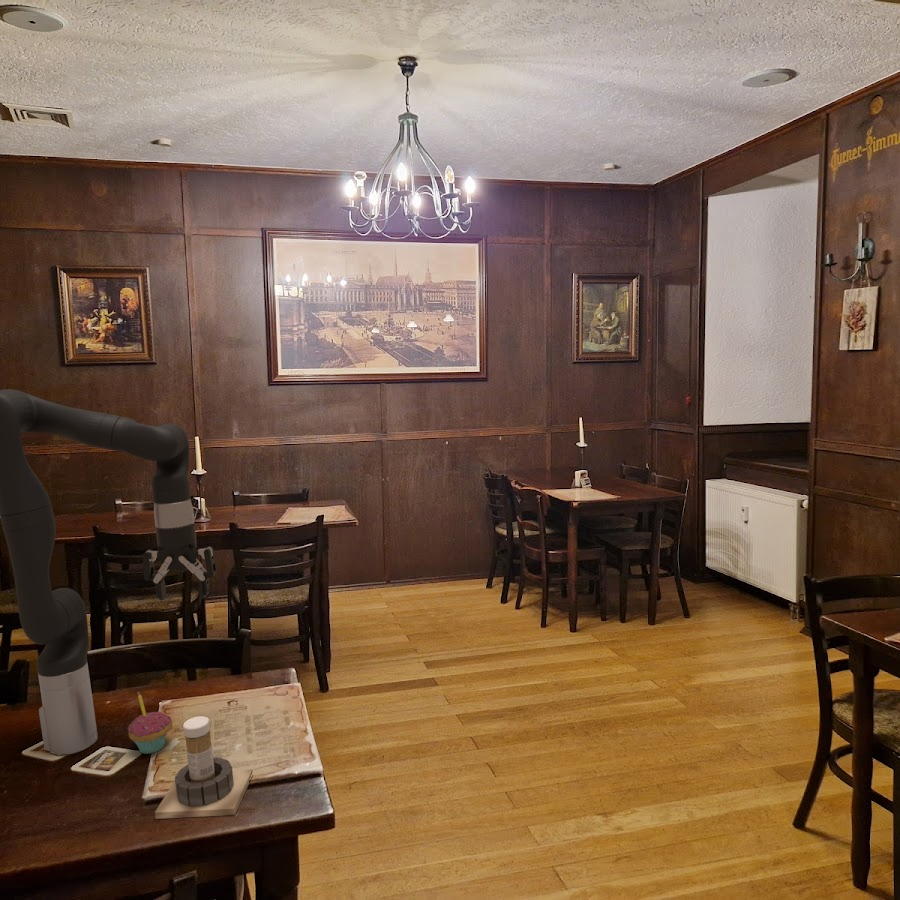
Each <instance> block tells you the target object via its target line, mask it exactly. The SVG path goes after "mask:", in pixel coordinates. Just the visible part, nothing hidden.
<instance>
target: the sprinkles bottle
mask: <svg viewBox="0 0 900 900" xmlns="http://www.w3.org/2000/svg"><path fill="white" fill-rule="evenodd" d="M182 728H183V735H184V737H185V745H186V755H187V763H188V764H187V765H189V774H190V778H191V783H203V782H206V781H209V780H212V779H214V778H215V771H214V759H213V758H214V753H213V746H212V739H211V723H210V719H209V718H208V717H207V716H203V715H202V716H194V717H191V718H188V720H187V719H186V721H185V722H184V723H183V725H182Z"/></svg>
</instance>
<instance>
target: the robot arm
mask: <svg viewBox="0 0 900 900" xmlns="http://www.w3.org/2000/svg"><path fill="white" fill-rule="evenodd" d="M23 433H25V434H26V433H29V434H30V433H31V434H32V433H33V434H48V435H49V434H50V435H55V436H60V437H62V438H63V437H64V438H67V439H69V440H72V441H74V442H77V443H79V444H82V445H85V446H89V447H93V448H98V449H103V450H107V451H112V452H113V451H114V452H118V453H119V452H121V453H126V454H128V455H130V456H131V455H132V456H134V457H137V458H139V459H143V460H145V461H149V462H155V465H156V466H155V469H156V470H155V473H154V474H153V475H152V479H151V488H152V496H153V514H154V515H153V517H154V525H155V526H154V527H155V535H156V541H157V549H158V550H153V549H151V548H150V549H147V550H146V551H145V552H143V555H142V561H143V576H144V577H143V578H144V580H145V581H147V582H148V581H150V582H152V583H153V584H154V588H155V596H156V598H158V600H159V601H164V600H165V599H166V598H167V587H166V581H165V580H164V577H165V576H166V575H167V574H168V572H169V571H170V572H176V571H177V572H178V571H182V572H186V571H187V570H188V571H190V573H192V574H193V575H195V577H197V578H198V588H199V597H200V599H205V598H207V596H208V594H210V585H209V579H210V578H213V577H214V576H215V575H216V574H217V573H218V569H217V568H218V567H217V563H216V557H215V551H214V548H213V547H214V546H207V547H204V548H199V547H198V545H197V544H198V543H197V542H198V541H197V534H196V533H197V532H196V525H195V514H194V507H193V504H192V499H191V491H190V483H189V478H188V475H189V468H190V467H189V463H190V461H189V460H190V444H189V438H188V434H187V433H186V431H185V430H184V429H183V427H182V426H180V425H178V424H177V423H164V424H161V425H158V426H157V425H149V424H144V423H139V422H137V421H136V420H135V419H133V418H129V417H126V416H121V415H115V414H110V413H104V412H100V411H99V412H98V411H92V410H88V409H87V410H86V409H81V408H75V407H72V406H71V407H70V406H66V405H64V404H63V405H62V404H59V403H55V402H53V401H49V400H46V399H43V398H40V397H38V396H35V395H32V394H29V393H26V392H24V391H20V390H17V389H11V388H10V389H9V388H8V389H7V388H6V389H0V523H1V527H2V530H3V535H4V537H5V541H6V544H7V549H8V554H9V558H10V563H11V567H12V572H13V578H14V584H15V592H16V593H15V594H16V601H17V608H18V609H17V610H18V615H19V616H18V617H19V621H20V626H21V628H22V630H23V632H24V634H25V635H26V637H27V638H28V639H29V640H30V641H31V642H33V643H34V644H37V645H41V646H42V645H45V647H44V648H43V650H42V651H41V652H40V654H39V655H38V657H37V658H36V669H37V675H38V683H39V687H40V688H39V690H40V697H41V703H42V706H41V707H39V709H38V714H39V722H40V729H41V734H42V741H43V747H44V751H45V750H48V751H51V752H53V753H55V754H67V755H72V754H77V753H79V752H81V751H84V750H86V749H87V748H90V747H91V746H92V745H94V744H95V743H97V740H98V739H99V738H98V729H97V722H96V715H95V714H96V713H95V707H94V700H93V693H92V685H91V677H90V671H89V665H88V658H87V655H88V650H89V647H90V646H89V645H90V639H89V638H90V637H89V627H88V615H87V609H86V605H85V602H84V599H83V598H82V597H81V596H80V594H79V593H78V592H77V591H75V590H74V589H72V588H69V587H58V588H56V589H54V590H52V585H51V579H50V565H51V558H52V554H53V551H54V546H55V541H56V535H57V524H56V518H55V515H54V510H53V506H52V502H51V499H50V496H49V493H48V492H47V490H46V488H45V486H44V485H43V483H42V482H41V480H40V479H39V477H38V476H37V474H36V473H35V472H34V470H33V469H32V467H31V466H30V464H29V462H28V459H27V457H26V454H25V450H24V446H23V442H22V436H21V434H23ZM199 556H201V558H202V559H203V560H204V562H205V566H206V569H205V568H204V567H203V564H202V563H201V562H200V561H199V560H198V557H199ZM157 558H158V560H159V561H160V562H161V563H162V564H161V566H160V568H159V569H158V571H157V573H155V571H156V570H155V561H156V559H157ZM51 752H50V753H51ZM55 754H54V755H55Z"/></svg>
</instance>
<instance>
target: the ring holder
mask: <svg viewBox="0 0 900 900" xmlns="http://www.w3.org/2000/svg"><path fill="white" fill-rule="evenodd" d="M213 759H214V771H215V778H214V779H212V780H209V781H206V782H203V783H191V778H190V774H189V765H188V764H186V765H184V766H183V767H181V768H180V770H178V772H177V774H176V775H175V777H174V781H173V783H172V784H171V786H170V788H169V789H168V791H167V792H166V794H165V795H164V797H163V798H162V800H161V802H160V803H159V805H158V807H157V808H156V810H155V811H154V817H155V819H156V820H157V819H158V820H159V819H161V820H162V819H179V818H181V819H182V818H197V817H198V818H201V817H219V816H221V817H222V816H223V817H224V816H235V815H236V813H237V811H238V809H239V807H240V805H241V802H242V800H243V798H244V796H245V793H246V791H247V789H248V787H249V785H250V783H249V780H250V778H251V775H252V773H254V772H253V769H252V768H250V769H233V766H232V764H231V763H230V761H229V760H228V759H225V758H222V757H217V756H216V757H214V756H213ZM251 779H252V778H251Z"/></svg>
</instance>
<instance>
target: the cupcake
mask: <svg viewBox="0 0 900 900" xmlns="http://www.w3.org/2000/svg"><path fill="white" fill-rule="evenodd" d="M137 694H138V696H137V697H138V702H139V706H140V709H141V715H138V716H137V717H135V718H134V719H133V720H132V721H131V723H130V724H128V727H127V731H128V738H129V739H130V740H131V741H133V742H134V743H135V745H136V746H137V748H138V750H139V752H140V753H142V754H144V755H145V754H148V755H150V754H154V753H157V752H159V751H160V749H161V750H162V749H163V748H164V747H165V742H166V738H167V735H168V733H169V732H170V730H171V729H172V728H173V725H174V724H173V720H172V718H171V716H170V715H168V714H167V713H163V712H161V711H151V712H146V708H145V705H144V704H145V703H144V701H143V697H142V695H141V694H140V692H139V691H137Z"/></svg>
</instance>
